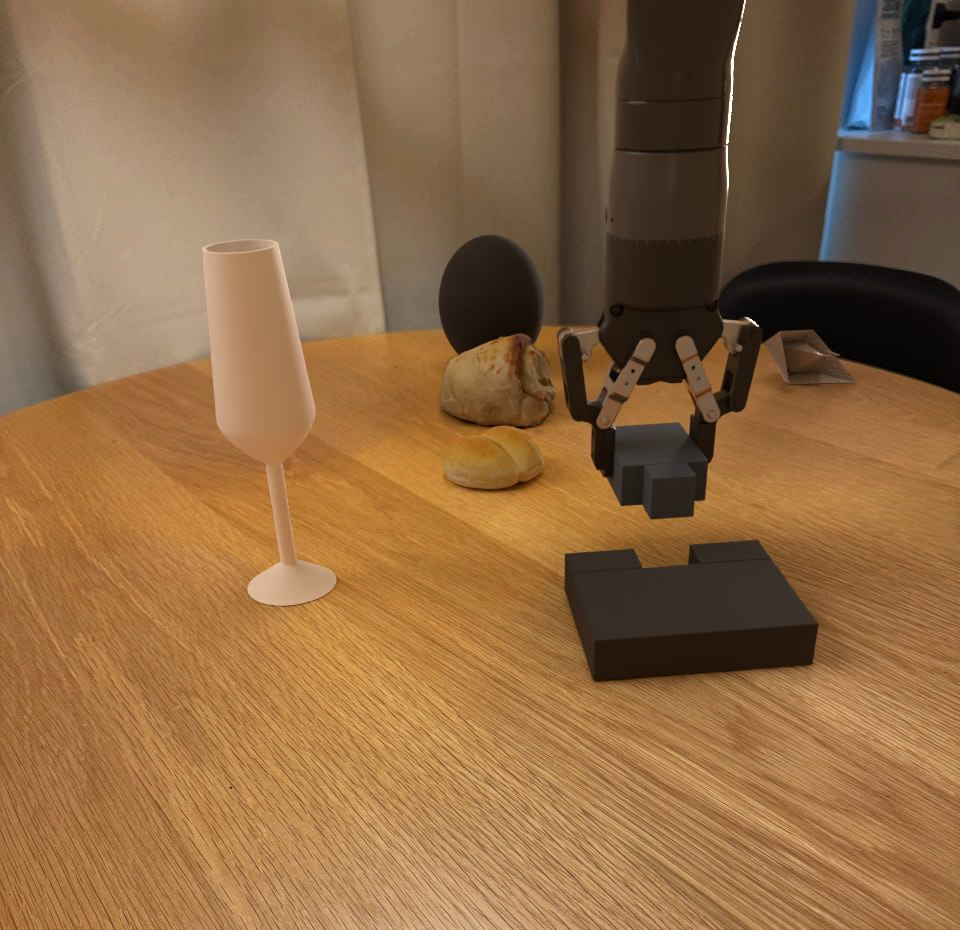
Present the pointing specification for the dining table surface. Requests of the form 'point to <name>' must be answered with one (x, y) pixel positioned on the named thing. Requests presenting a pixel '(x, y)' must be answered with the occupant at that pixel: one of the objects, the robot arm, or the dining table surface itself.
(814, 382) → the paper boat
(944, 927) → the dining table surface
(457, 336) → the decorative egg
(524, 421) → the pastry
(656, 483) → the pad
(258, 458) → the champagne flute
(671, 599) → the notch pad
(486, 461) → the bread roll
